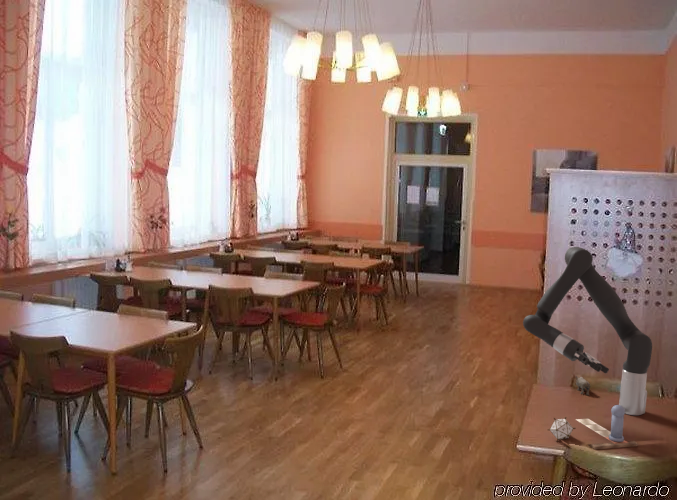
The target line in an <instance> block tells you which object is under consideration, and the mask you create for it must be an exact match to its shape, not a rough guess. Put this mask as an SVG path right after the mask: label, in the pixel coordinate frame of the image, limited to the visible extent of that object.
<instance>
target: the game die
mask: <svg viewBox="0 0 677 500" xmlns="http://www.w3.org/2000/svg"><path fill="white" fill-rule="evenodd" d="M553 420H554V421H553V423H552V424H551V426H550V428H549V429H547V431H550V432H551V434H552V435H553V436H554V437H555V438H556V442H558V441H559V440H563V439H565V440H566V439H569V438H570V437H571V434H572V432H573V431H574V430H576V427H573V426H572V425H571V423H570V422H569V421H568V420H567V416H565V417H564V418H557V419H556V418H555V417H553Z"/></svg>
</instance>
